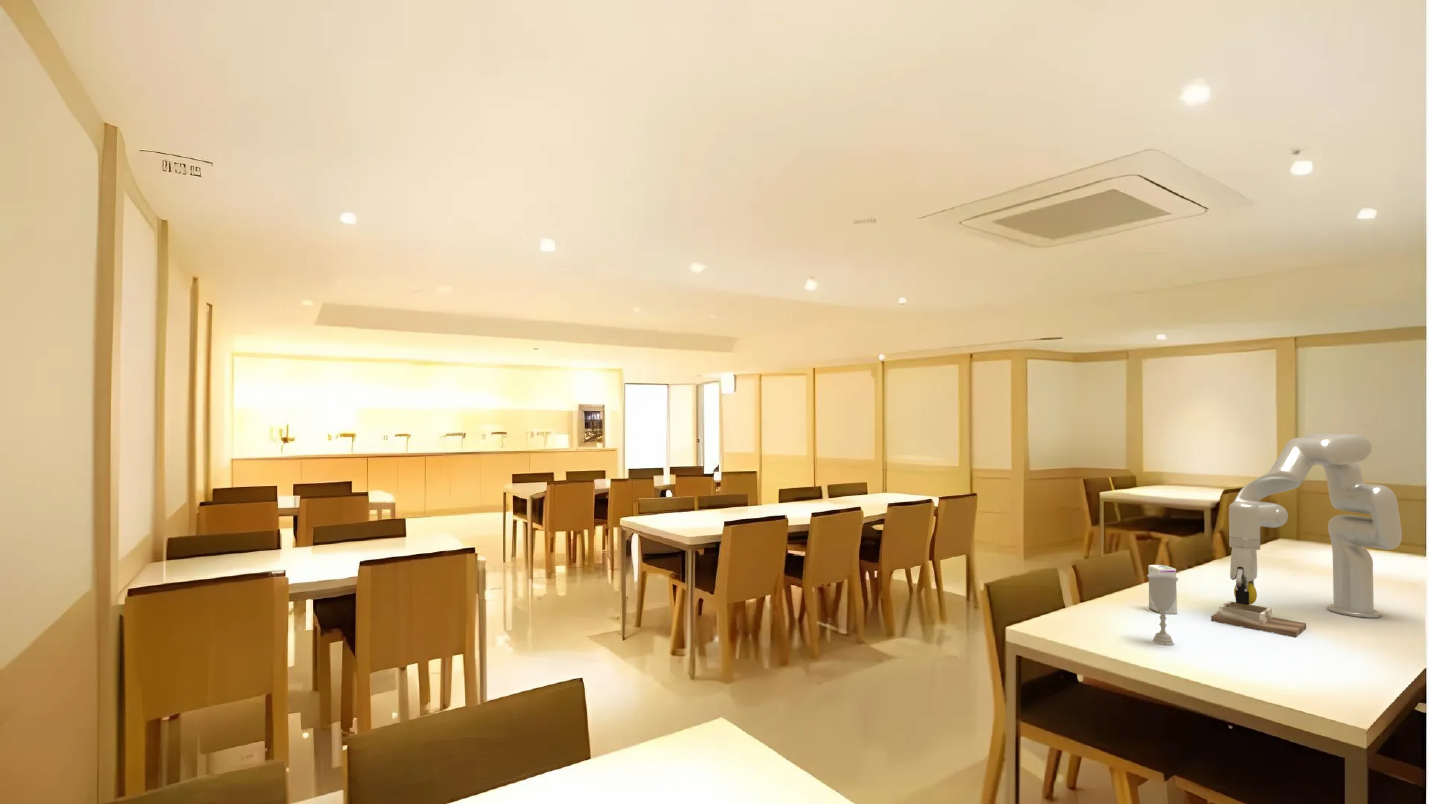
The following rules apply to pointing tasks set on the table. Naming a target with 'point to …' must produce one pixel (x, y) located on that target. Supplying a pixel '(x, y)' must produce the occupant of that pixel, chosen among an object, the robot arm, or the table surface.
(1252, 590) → the lemon
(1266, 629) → the serving board
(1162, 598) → the chalice
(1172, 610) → the syrup box
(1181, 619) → the table surface
